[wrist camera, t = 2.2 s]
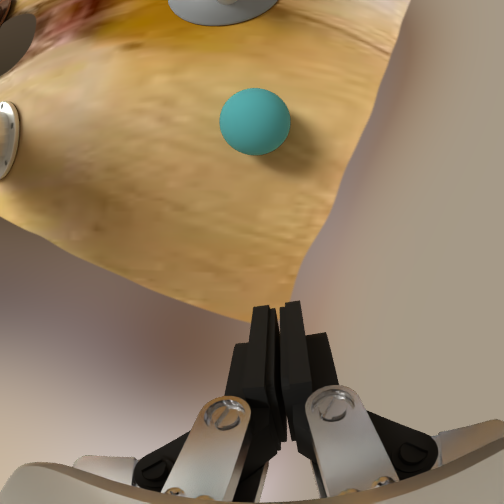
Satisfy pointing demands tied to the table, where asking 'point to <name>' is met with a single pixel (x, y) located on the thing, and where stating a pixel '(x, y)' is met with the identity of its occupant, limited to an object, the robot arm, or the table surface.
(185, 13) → the pin spot
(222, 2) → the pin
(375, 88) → the table surface
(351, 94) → the table surface
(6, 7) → the cup and saucer
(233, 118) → the ball
